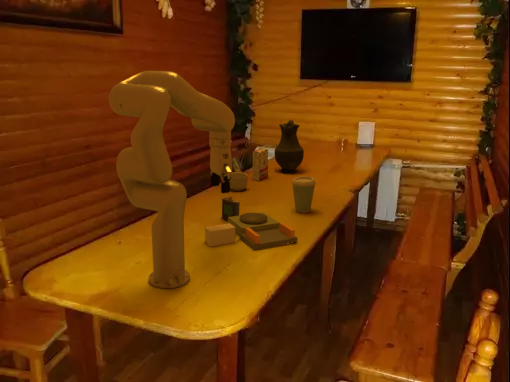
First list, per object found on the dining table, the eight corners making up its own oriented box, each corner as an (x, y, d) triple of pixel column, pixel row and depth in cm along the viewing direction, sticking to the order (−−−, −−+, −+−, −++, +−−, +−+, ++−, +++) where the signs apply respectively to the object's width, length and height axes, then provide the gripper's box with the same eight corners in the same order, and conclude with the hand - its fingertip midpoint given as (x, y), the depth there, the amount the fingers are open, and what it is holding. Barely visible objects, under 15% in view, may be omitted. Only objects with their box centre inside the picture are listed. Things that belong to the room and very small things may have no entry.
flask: (240, 221, 198) (240, 197, 195) (235, 223, 196) (236, 198, 193) (224, 216, 203) (224, 192, 201) (219, 218, 201) (219, 194, 198)
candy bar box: (260, 176, 273) (260, 148, 268) (268, 177, 271) (268, 148, 266) (251, 180, 263) (252, 151, 259) (259, 181, 261) (260, 152, 257)
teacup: (251, 188, 247) (251, 174, 244) (239, 193, 238) (239, 178, 235) (229, 184, 254) (229, 170, 251) (217, 189, 245) (217, 174, 243)
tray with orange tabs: (297, 242, 177) (297, 229, 175) (254, 250, 169) (254, 236, 168) (265, 220, 199) (265, 209, 198) (225, 226, 191) (225, 214, 190)
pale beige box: (236, 242, 176) (236, 227, 175) (210, 246, 172) (210, 231, 170) (230, 237, 181) (230, 223, 179) (205, 242, 176) (204, 227, 174)
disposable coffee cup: (304, 215, 207) (306, 182, 202) (285, 210, 214) (286, 178, 209) (318, 210, 214) (320, 178, 210) (299, 205, 221) (301, 174, 217)
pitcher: (272, 174, 278) (273, 123, 270) (276, 166, 298) (278, 118, 289) (301, 176, 275) (304, 124, 267) (304, 168, 295) (306, 119, 287)
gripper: (240, 146, 160) (239, 194, 165) (220, 137, 175) (220, 182, 179) (219, 147, 157) (219, 196, 161) (201, 138, 171) (201, 184, 176)
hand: (220, 189), depth 170 cm, fingers open, 9 cm apart
